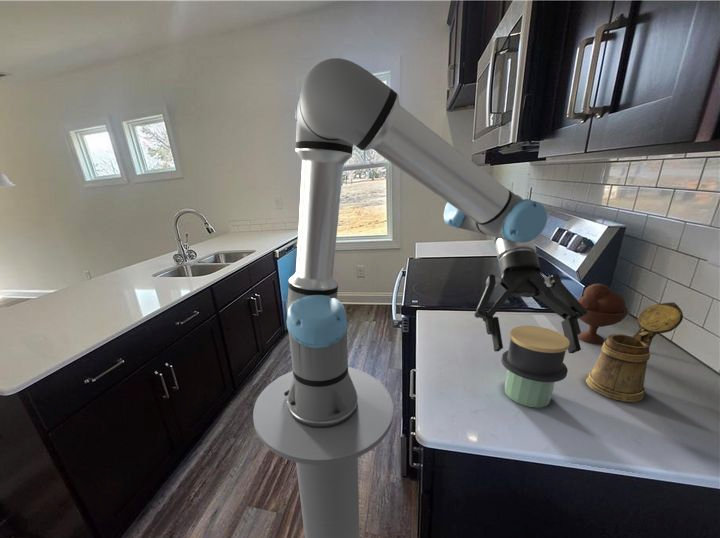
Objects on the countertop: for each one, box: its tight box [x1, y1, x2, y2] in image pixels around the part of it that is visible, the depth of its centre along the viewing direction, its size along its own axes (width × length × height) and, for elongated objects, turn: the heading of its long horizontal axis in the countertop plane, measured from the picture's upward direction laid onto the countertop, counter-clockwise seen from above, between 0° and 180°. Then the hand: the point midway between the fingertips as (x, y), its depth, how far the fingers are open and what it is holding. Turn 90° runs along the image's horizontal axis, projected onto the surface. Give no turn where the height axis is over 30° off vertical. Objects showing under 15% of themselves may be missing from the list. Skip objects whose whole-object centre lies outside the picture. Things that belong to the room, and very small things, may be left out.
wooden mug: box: [585, 301, 684, 403], centre depth 63 cm, size 9×14×18 cm, turn 103°
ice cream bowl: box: [577, 283, 629, 345], centre depth 82 cm, size 11×11×15 cm
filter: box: [500, 325, 570, 383], centre depth 62 cm, size 11×11×9 cm
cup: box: [504, 369, 556, 408], centre depth 65 cm, size 8×8×7 cm
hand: (536, 350), depth 62 cm, fingers open, 13 cm apart
